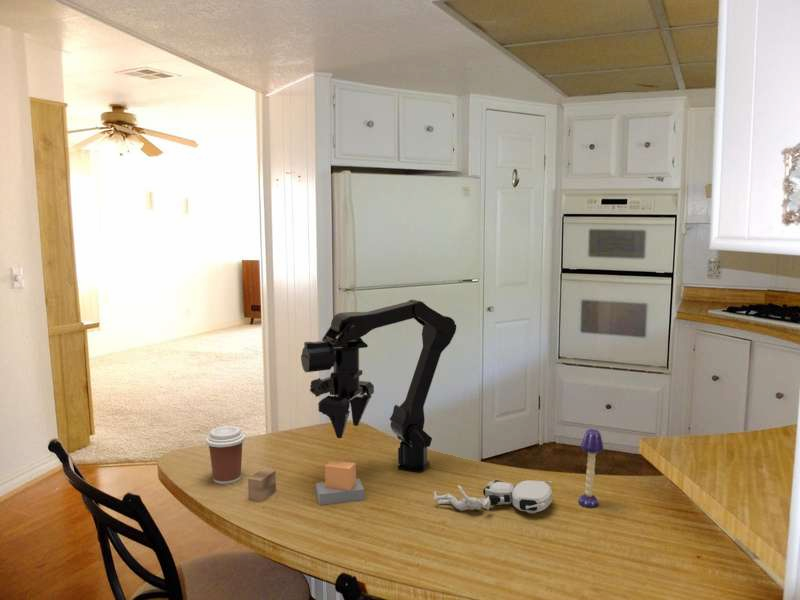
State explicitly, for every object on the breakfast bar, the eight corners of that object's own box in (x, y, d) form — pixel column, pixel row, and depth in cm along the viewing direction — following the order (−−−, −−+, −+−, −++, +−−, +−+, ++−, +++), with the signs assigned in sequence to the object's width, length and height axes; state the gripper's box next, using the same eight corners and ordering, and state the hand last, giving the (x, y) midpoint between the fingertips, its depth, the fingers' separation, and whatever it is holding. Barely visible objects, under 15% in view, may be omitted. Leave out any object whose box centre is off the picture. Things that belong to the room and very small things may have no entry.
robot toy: (477, 515, 135) (548, 522, 130) (475, 495, 135) (547, 501, 130) (489, 492, 147) (555, 497, 141) (488, 473, 146) (555, 478, 141)
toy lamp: (602, 501, 139) (605, 429, 137) (599, 510, 135) (602, 435, 133) (580, 497, 141) (582, 426, 139) (576, 506, 137) (579, 432, 135)
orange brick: (355, 484, 143) (355, 463, 142) (350, 490, 140) (349, 469, 139) (331, 481, 145) (331, 460, 144) (325, 487, 142) (324, 465, 141)
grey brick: (359, 490, 147) (359, 478, 146) (364, 502, 141) (364, 489, 140) (316, 495, 144) (315, 483, 144) (319, 507, 138) (319, 494, 138)
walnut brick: (263, 488, 147) (262, 468, 146) (276, 491, 146) (275, 470, 145) (248, 499, 141) (247, 478, 141) (261, 502, 140) (261, 480, 139)
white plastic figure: (445, 501, 142) (495, 493, 138) (445, 522, 139) (496, 515, 135) (430, 487, 137) (482, 478, 133) (430, 509, 134) (483, 500, 130)
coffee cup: (216, 489, 146) (214, 440, 145) (201, 477, 153) (199, 429, 152) (253, 479, 152) (251, 431, 150) (236, 467, 159) (235, 421, 157)
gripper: (333, 356, 159) (334, 416, 161) (296, 373, 142) (298, 440, 144) (374, 359, 155) (374, 421, 157) (341, 378, 138) (342, 446, 140)
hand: (347, 431), depth 150 cm, fingers open, 9 cm apart
